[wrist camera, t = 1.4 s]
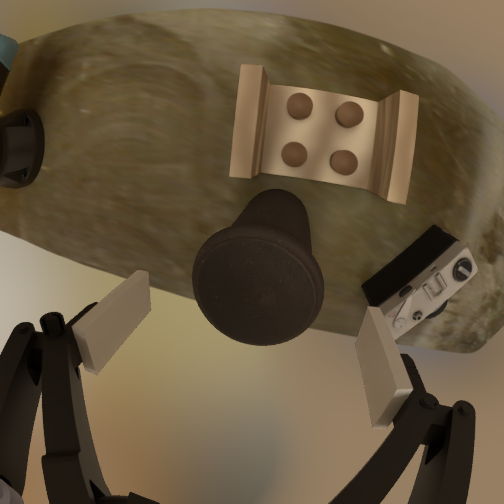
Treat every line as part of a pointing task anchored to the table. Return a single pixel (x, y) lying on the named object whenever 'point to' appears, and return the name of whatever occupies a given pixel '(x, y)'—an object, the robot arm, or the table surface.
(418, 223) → the table surface
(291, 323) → the container
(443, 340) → the table surface
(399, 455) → the robot arm
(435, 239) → the camera
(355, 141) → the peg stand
